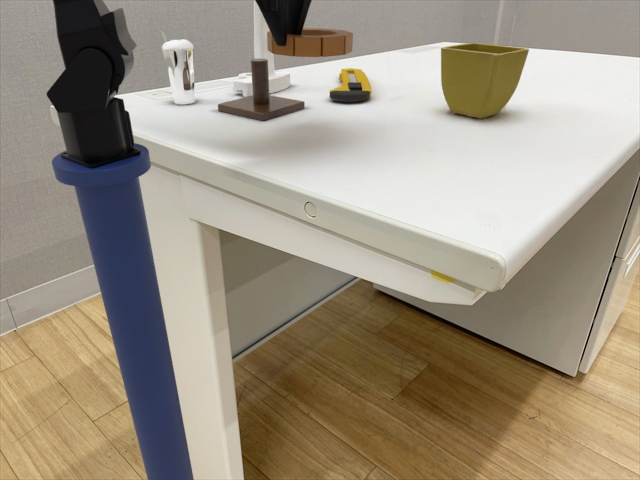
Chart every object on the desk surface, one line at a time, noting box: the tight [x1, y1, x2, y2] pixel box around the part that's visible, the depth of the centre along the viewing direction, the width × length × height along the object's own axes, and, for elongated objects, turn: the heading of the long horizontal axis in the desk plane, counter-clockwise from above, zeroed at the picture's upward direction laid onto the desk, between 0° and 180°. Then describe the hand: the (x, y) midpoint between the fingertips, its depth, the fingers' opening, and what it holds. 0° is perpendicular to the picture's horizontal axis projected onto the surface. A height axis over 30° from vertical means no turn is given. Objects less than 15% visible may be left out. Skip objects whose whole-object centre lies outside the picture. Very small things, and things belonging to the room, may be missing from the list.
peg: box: [217, 58, 305, 122], centre depth 72 cm, size 9×9×7 cm
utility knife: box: [329, 68, 372, 103], centre depth 86 cm, size 7×22×2 cm, turn 0°
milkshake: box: [160, 31, 196, 106], centre depth 75 cm, size 4×5×10 cm
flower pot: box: [440, 42, 530, 119], centre depth 70 cm, size 9×9×9 cm
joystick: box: [232, 0, 291, 98], centre depth 81 cm, size 11×8×20 cm
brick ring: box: [267, 27, 354, 58], centre depth 58 cm, size 10×10×2 cm
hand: (287, 44), depth 56 cm, fingers closed on brick ring, 2 cm apart
